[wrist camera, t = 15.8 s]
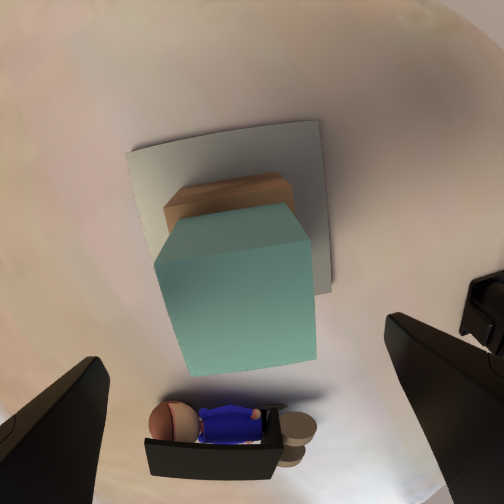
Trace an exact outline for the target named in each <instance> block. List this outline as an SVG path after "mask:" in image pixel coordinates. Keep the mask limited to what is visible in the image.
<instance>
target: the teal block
mask: <svg viewBox="0 0 504 504" xmlns="http://www.w3.org/2000/svg"><path fill="white" fill-rule="evenodd" d="M153 265H154V268H155V272H156V275H157V278H158V282H159V285H160V288H161V292H162V295H163V298H164V301H165V304H166V308H167V311H168V314H169V317H170V320H171V323H172V326H173V329H174V332H175V334H176V337H177V340H178V343H179V346H180V349H181V351H182V354H183V357H184V360H185V362H186V365H187V368H188V370H189V373H190V376H191V377H195V376H206V375H215V374H224V373H233V372H241V371H248V370H255V369H262V368H269V367H275V366H281V365H287V364H293V363H299V362H304V361H309V360H314V359H317V355H316V324H315V302H314V284H313V268H312V253H311V240H310V238H309V237H308V235H307V234H306V232H305V231H304V229H303V228H302V226H301V225H300V223H299V222H298V220H297V219H296V218H295V216H294V215H293V213H292V212H291V210H290V209H289V207H288V206H287V205H286V203H285V202H284V203H277V204H270V205H264V206H257V207H250V208H244V209H238V210H231V211H225V212H219V213H213V214H207V215H201V216H196V217H190V218H184V219H179V220H178V221H177V223H176V224H175V226H174V228H173V230H172V231H171V233H170V235H169V237H168V238H167V240H166V242H165V244H164V246H163V247H162V249H161V251H160V253H159V255H158V256H157V258H156V260H155V262H154V264H153Z"/></svg>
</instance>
